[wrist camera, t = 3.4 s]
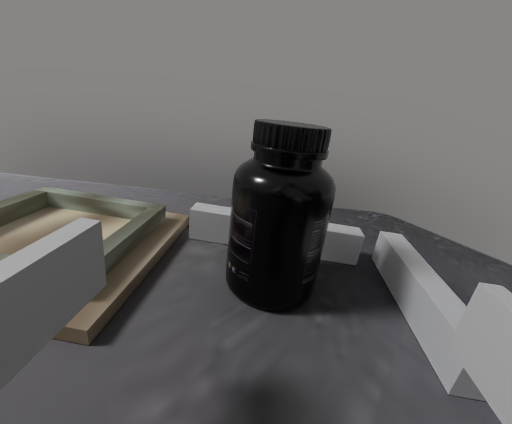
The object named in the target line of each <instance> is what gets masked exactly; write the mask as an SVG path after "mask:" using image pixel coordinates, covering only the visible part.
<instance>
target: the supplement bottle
mask: <svg viewBox="0 0 512 424" xmlns="http://www.w3.org/2000/svg"><path fill="white" fill-rule="evenodd" d="M330 136H331V129H330V128H327V127H323V126H318V125H312V124H304V123H298V122H289V121H279V120H267V119H258V120H255V123H254V132H253V141H252V142H251V149H252V150H253V151H254V157H253V158H252V159H250V160H248V161H246V162H244V163H243V164H242V165H240V166H239V168H238V169H237V171H236V172H235V175H234V180H233V189H232V202H231V214H230V227H229V239H228V252H227V266H226V280H227V284H228V286H229V288H230V290H231V291H232V292H233V293H234V295H235V296H236V297H238V298H239V299H240V300H241V301H243V302H245V303H246V304H248V305H251V306H253V307H256V308H259V309H263V310H269V311H283V310H289V309H293V308H296V307H298V306H300V305H302V304H303V303H304V302H306V301H307V300H308V299H309V297H310V296H311V294H312V292H313V289H314V285H315V281H316V277H317V273H318V269H319V264H320V260H321V255H322V251H323V246H324V242H325V237H326V233H327V229H328V224H329V220H330V215H331V211H332V206H333V202H334V197H335V191H336V188H335V183H334V180H333V178H332V177H331V176H330V174H329V173H328V172H327V171H326V170H325V169H324V168H322V166H321V165H322V160H325V159H327V157H328V153H329V151H328V146H329V142H330Z"/></svg>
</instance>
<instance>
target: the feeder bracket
mask: <svg viewBox="0 0 512 424" xmlns="http://www.w3.org/2000/svg"><path fill="white" fill-rule="evenodd" d="M230 214H231V208H229V207H223V206H217V205H210V204H204V203H197V202H196V203H195V205H194V206H193V207H192V208H191V209H190V220H189V238H190V239H196V240H202V241H208V242H215V243H221V244H227V245H228V239H229V227H230ZM364 238H365V236H364V235H363V233H362V231H361V230H360V228H358V227H351V226H345V225H338V224H332V223H329V224H328V229H327V233H326V237H325V242H324V246H323V251H322V255H321V260H325V261H331V262H338V263H344V264H350V265H356V264H357V261H358V258H359V254H360V251H361V248H362V245H363V241H364ZM372 260H373V261H374V263H375V265H376V267H377V269H378V270H379V272H380V274H381V276H382V277H383V279H384V281H385V283H386V285H387V286H388V288H389V290H390V292H391V294H392V295H393V297H394V299H395V301H396V302H397V304H398V306H399V308H400V310H401V311H402V313H403V315H404V317H405V318H406V320H407V322H408V324H409V326H410V327H411V329H412V331H413V333H414V335H415V336H416V338H417V340H418V342H419V343H420V345H421V347H422V349H423V351H424V352H425V354H426V356H427V358H428V360H429V361H430V363H431V365H432V367H433V368H434V370H435V372H436V374H437V376H438V377H439V379H440V381H441V383H442V384H443V386H444V388H445V390H446V392H447V393H448V395H453V396H459V397H464V398H470V399H475V400H481V401H486V399H485V398H484V397H483V395H482V394H481V392H480V391H479V389H478V388H477V386H476V385H475V383H474V382H473V380H472V379H471V377H470V376H469V374H468V373H467V372H466V370H465V369H464V367H463V366H462V364H461V363H460V361H459V360H458V358H457V357H456V355H455V354H454V352H453V351H452V349H451V348H450V347H449V345H448V343H449V341H450V339H451V337H452V335H453V333H454V331H455V329H456V327H457V325H458V323H459V321H460V319H461V317H462V315H463V313H464V311H465V309H466V306H465V304H464V303H463V302H462V301H461V300H460V299H459V298H458V297H457V295H456V294H455V293H454V292H453V291H452V290H451V289H450V288H449V287H448V285H447V284H446V283H445V282H444V281H443V280H442V279H441V278H440V277H439V275H438V274H437V273H436V272H435V271H434V270H433V269H432V268H431V267H430V265H429V264H428V263H427V262H426V261H425V260H424V259H423V258H422V257H421V255H420V254H419V253H418V252H417V251H416V250H415V249H414V248H413V246H412V245H411V244H410V243H409V242H408V241H407V240H406V239H405V238H404V236H403V235H402V234H396V233H390V232H383V231H380V234H379V237H378V240H377V243H376V246H375V249H374V252H373V255H372ZM486 402H487V401H486Z"/></svg>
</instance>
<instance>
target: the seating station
mask: <svg viewBox="0 0 512 424" xmlns="http://www.w3.org/2000/svg"><path fill="white" fill-rule="evenodd" d="M80 217H82V218H88V219H94V220H100V221H101V225H102V236H103V248H104V259H105V271H106V282H107V285H106V286H105V287H104V288H103V289H102V290H101V291H100V292H99V293H98V294H97V295H96V296H95V297H94V298H93V299H92V300H91V301H90V302H89V303H88V304H87V305H86V306H85V307H84V308H83V309H82V310H81V311H80V312H79V313H78V314H77V315H76V316H75V317H74V318H73V319H72V320H71V321H70V322H69V323H68V324H67V325H66V326H65V327H64V328H63V329H62V330H61V331H60V332H59V333H58V334H57V335H55V336H54V337H53V338H52V339H57V340H62V341H68V342H73V343H79V344H84V345H90V343H91V342H92V341H93V340H94V339H95V337H96V336H97V335H98V334H99V332H100V331H101V330H102V329H103V328H104V326H105V325H106V324H107V323H108V322H109V320H110V319H111V318H112V317H113V316H114V314H115V313H116V312H117V311H118V309H119V308H120V307H121V306H122V305H123V303H124V302H125V301H126V300H127V299H128V297H129V296H130V295H131V294H132V293H133V291H134V290H135V289H136V288H137V286H138V285H139V284H140V283H141V282H142V280H143V279H144V278H145V277H146V276H147V274H148V273H149V272H150V271H151V270H152V268H153V267H154V266H155V265H156V263H157V262H158V261H159V260H160V259H161V257H162V256H163V255H164V254H165V253H166V251H167V250H168V249H169V248H170V247H171V245H172V244H173V243H174V242H175V240H176V239H177V238H178V237H179V236H180V234H181V233H182V232H183V231H184V230H185V228H186V227H187V226H188V225H189V216H188V215H182V214H176V213H169V212H166V205H160V204H153V203H147V202H140V201H134V200H128V199H121V198H115V197H109V196H102V195H96V194H90V193H83V192H77V191H71V190H64V189H58V188H51V187H42V188H39V189H36V190H33V191H30V192H27V193H24V194H21V195H18V196H14V197H11V198H8V199H5V200H2V201H0V261H1V260H3V259H4V258H6V257H8V256H10V255H12V254H14V253H16V252H17V251H19V250H21V249H23V248H25V247H27V246H28V245H30V244H32V243H34V242H36V241H38V240H40V239H41V238H43V237H45V236H47V235H49V234H51V233H53V232H54V231H56V230H58V229H60V228H62V227H64V226H65V225H67V224H69V223H71V222H73V221H75V220H77V219H78V218H80Z"/></svg>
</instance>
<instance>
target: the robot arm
mask: <svg viewBox="0 0 512 424" xmlns="http://www.w3.org/2000/svg"><path fill="white" fill-rule="evenodd" d="M106 285H107V282H106V271H105V259H104V248H103V236H102V225H101V221H100V220H94V219H88V218H82V217H80V218H78V219H77V220H75V221H73V222H71V223H69V224H67V225H65V226H64V227H62V228H60V229H58V230H56V231H54V232H53V233H51V234H49V235H47V236H45V237H43V238H41V239H40V240H38V241H36V242H34V243H32V244H30V245H28V246H27V247H25V248H23V249H21V250H19V251H17V252H16V253H14V254H12V255H10V256H8V257H6V258H4V259H3V260H1V261H0V390H1V389H2V388H3V387H4V386H5V385H6V384H7V383H8V382H9V381H10V380H11V379H12V378H13V377H14V376H15V375H16V374H17V373H18V372H19V371H20V370H21V369H22V368H23V367H24V366H25V365H26V364H27V363H28V362H29V361H30V360H31V359H32V358H33V357H34V356H35V355H36V354H37V353H38V352H39V351H40V350H41V349H42V348H43V347H44V346H45V345H46V344H47V343H48V342H49V341H50V340H51V339H52V338H53V337H54V336H55V335H57V334H58V333H59V332H60V331H61V330H62V329H63V328H64V327H65V326H66V325H67V324H68V323H69V322H70V321H71V320H72V319H73V318H74V317H75V316H76V315H77V314H78V313H79V312H80V311H81V310H82V309H83V308H84V307H85V306H86V305H87V304H88V303H89V302H90V301H91V300H92V299H93V298H94V297H95V296H96V295H97V294H98V293H99V292H100V291H101V290H102V289H103V288H104V287H105V286H106ZM448 345H449V347H450V348H451V349H452V351H453V352H454V354H455V355H456V357H457V358H458V360H459V361H460V363H461V364H462V366H463V367H464V369H465V370H466V372H467V373H468V374H469V376H470V377H471V379H472V380H473V382H474V383H475V385H476V386H477V388H478V389H479V391H480V392H481V394H482V395H483V397H484V398H485V399H486V401H487V402H488V404H489V405H490V407H491V408H492V410H493V411H494V413H495V414H496V416H497V417H498V419H499V420H500V422H501V423H502V424H512V293H511V292H510V291H508V290H507V289H506V288H505V287H504V286H500V285H493V284H487V283H481V282H479V284H478V286H477V288H476V290H475V292H474V294H473V296H472V297H471V299H470V301H469V303H468V305H467V307H466V309H465V311H464V313H463V315H462V317H461V319H460V321H459V323H458V325H457V327H456V329H455V331H454V333H453V335H452V337H451V339H450V341H449V343H448Z"/></svg>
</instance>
